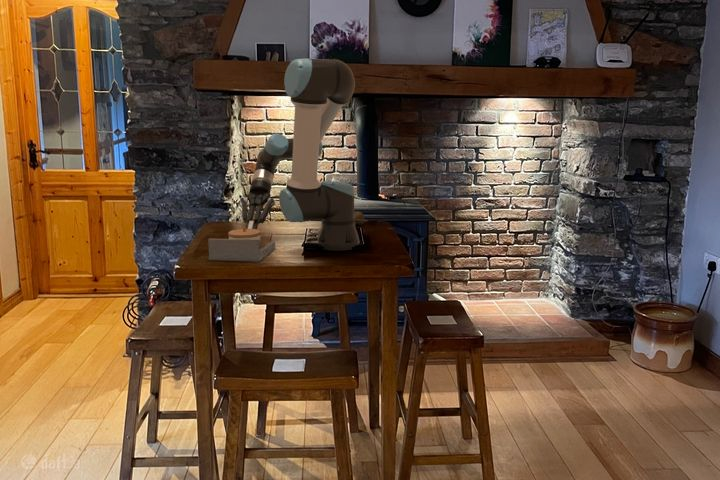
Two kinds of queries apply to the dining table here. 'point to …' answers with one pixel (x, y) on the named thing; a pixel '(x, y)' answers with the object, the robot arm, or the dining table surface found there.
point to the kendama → (359, 218)
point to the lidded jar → (245, 234)
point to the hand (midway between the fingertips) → (248, 238)
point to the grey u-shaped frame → (238, 250)
